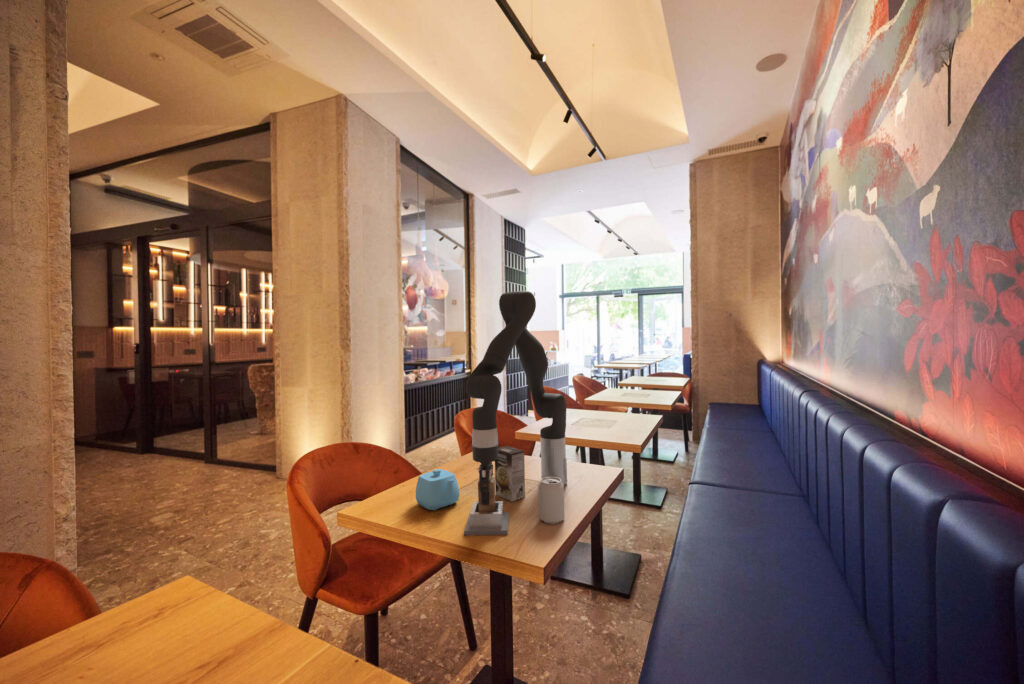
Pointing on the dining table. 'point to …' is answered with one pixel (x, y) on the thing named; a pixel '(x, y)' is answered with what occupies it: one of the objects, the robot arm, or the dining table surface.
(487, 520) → the dock
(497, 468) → the coffee box
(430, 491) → the teapot
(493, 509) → the long tan beam
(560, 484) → the can
